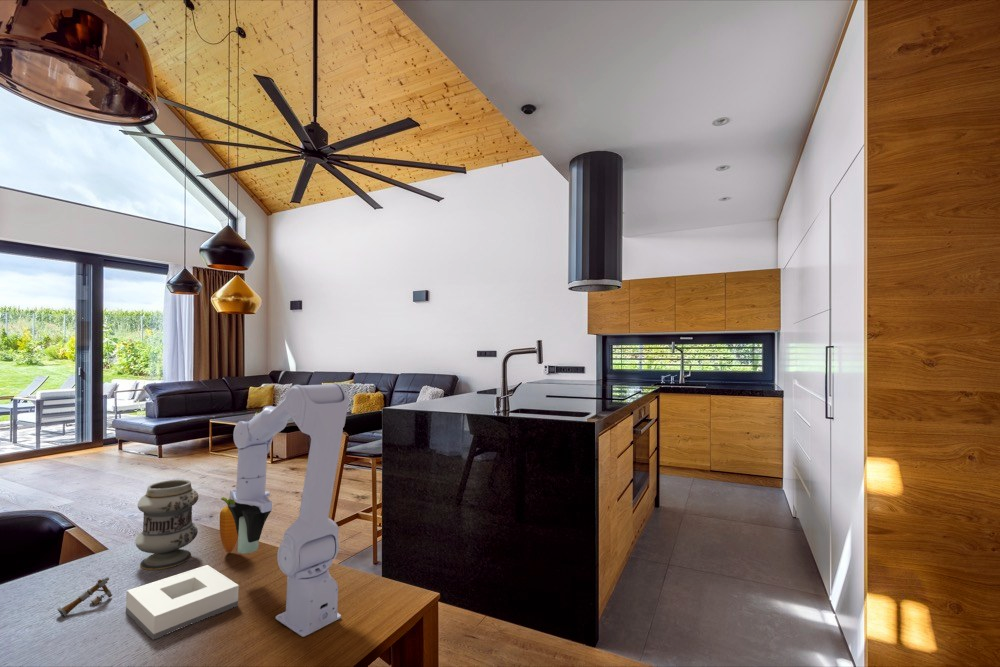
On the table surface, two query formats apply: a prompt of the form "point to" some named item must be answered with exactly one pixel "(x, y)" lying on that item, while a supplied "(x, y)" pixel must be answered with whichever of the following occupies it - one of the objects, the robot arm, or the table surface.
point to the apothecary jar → (167, 523)
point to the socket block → (180, 600)
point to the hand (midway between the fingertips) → (248, 538)
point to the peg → (245, 539)
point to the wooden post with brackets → (85, 595)
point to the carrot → (228, 527)
